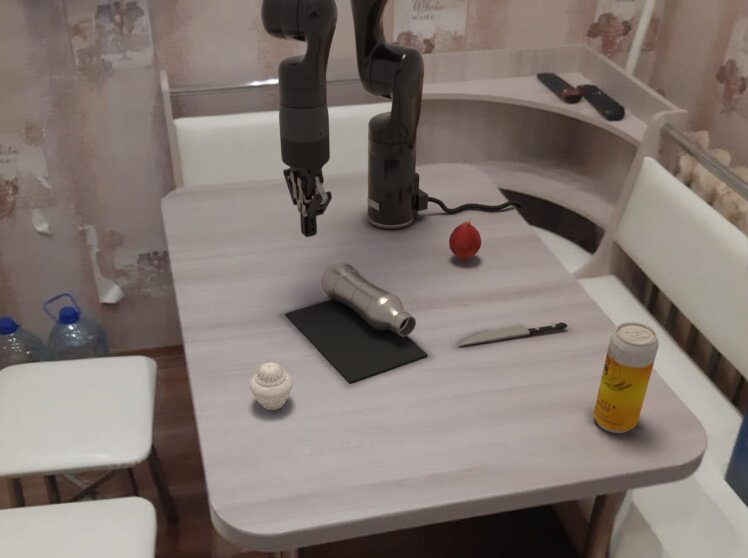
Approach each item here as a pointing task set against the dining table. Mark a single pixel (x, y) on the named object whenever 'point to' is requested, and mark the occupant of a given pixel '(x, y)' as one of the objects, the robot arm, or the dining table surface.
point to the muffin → (271, 386)
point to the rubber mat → (353, 340)
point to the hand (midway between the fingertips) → (309, 234)
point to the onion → (465, 241)
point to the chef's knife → (509, 333)
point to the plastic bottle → (366, 299)
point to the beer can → (625, 376)
